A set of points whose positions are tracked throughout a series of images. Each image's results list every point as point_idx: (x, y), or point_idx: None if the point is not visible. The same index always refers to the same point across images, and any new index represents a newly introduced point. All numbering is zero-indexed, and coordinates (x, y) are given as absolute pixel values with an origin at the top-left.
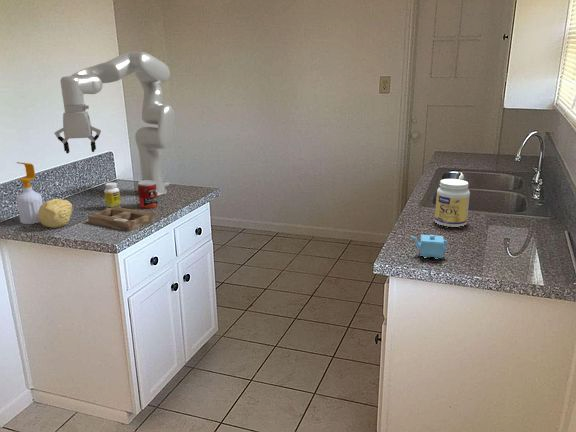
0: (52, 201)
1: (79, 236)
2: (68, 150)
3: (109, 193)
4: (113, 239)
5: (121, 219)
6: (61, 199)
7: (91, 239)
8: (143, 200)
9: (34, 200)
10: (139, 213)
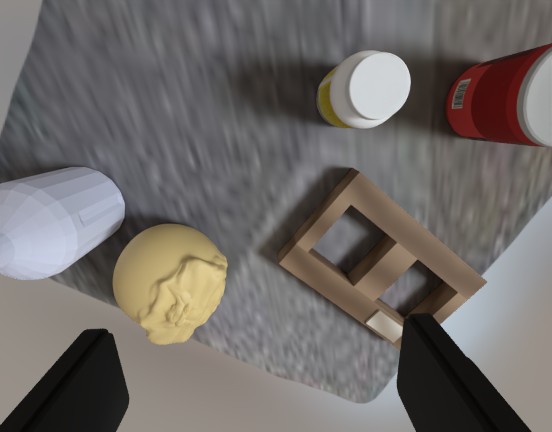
0: (158, 317)
1: (274, 352)
2: (108, 397)
3: (355, 127)
4: (359, 382)
5: (388, 324)
6: (182, 283)
7: (307, 374)
8: (478, 136)
9: (66, 266)
10: (444, 271)
